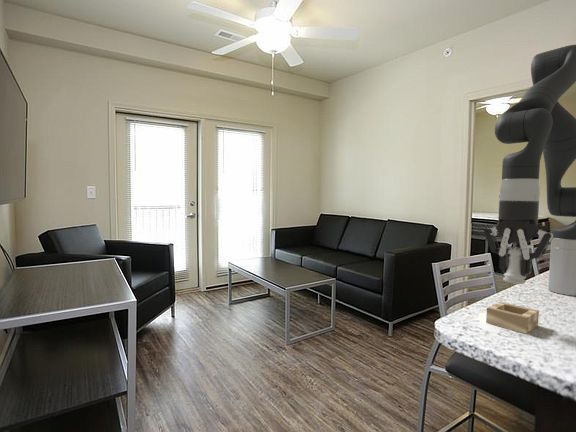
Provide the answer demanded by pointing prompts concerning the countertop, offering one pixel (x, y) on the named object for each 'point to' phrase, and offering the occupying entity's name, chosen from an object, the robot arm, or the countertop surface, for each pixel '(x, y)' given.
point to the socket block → (512, 317)
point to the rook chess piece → (514, 267)
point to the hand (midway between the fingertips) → (514, 273)
